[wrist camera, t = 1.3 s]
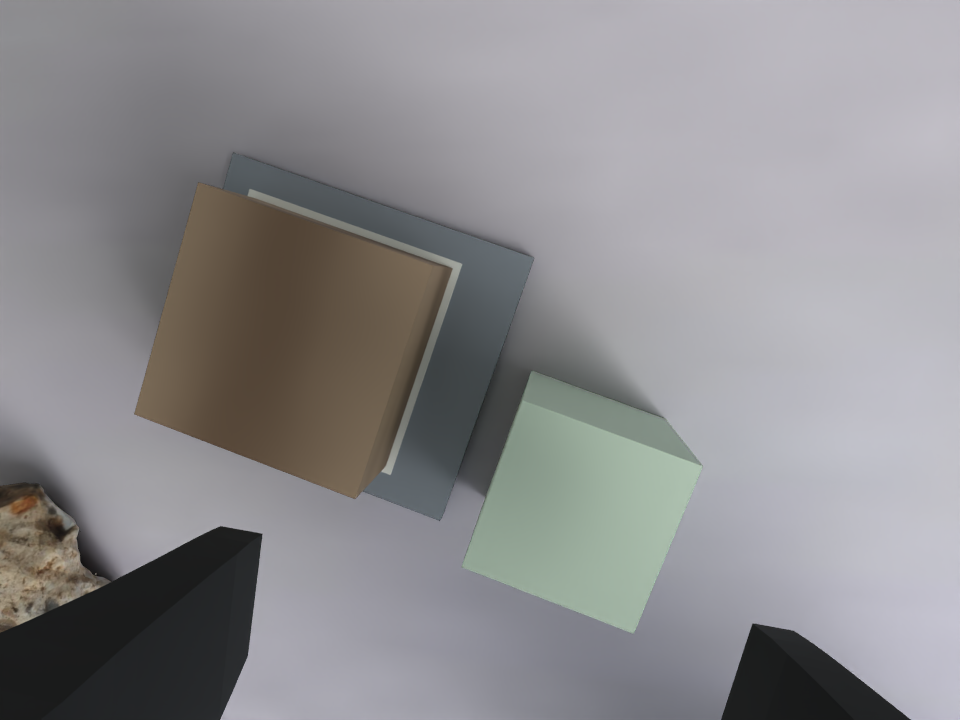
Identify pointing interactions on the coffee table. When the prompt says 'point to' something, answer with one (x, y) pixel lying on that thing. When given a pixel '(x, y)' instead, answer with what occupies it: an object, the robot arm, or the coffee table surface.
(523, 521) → the sage block
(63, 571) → the rock
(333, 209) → the mat
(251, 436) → the walnut block
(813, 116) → the coffee table surface
